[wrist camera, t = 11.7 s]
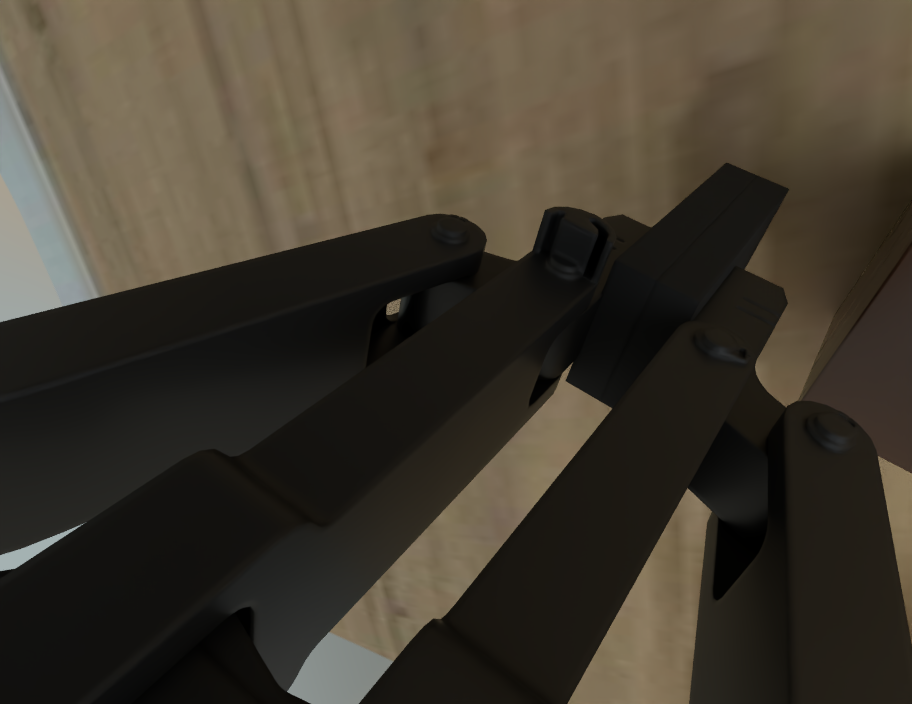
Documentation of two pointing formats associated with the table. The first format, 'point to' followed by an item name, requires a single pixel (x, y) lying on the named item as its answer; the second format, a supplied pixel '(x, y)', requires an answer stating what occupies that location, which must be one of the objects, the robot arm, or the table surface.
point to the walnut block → (874, 350)
